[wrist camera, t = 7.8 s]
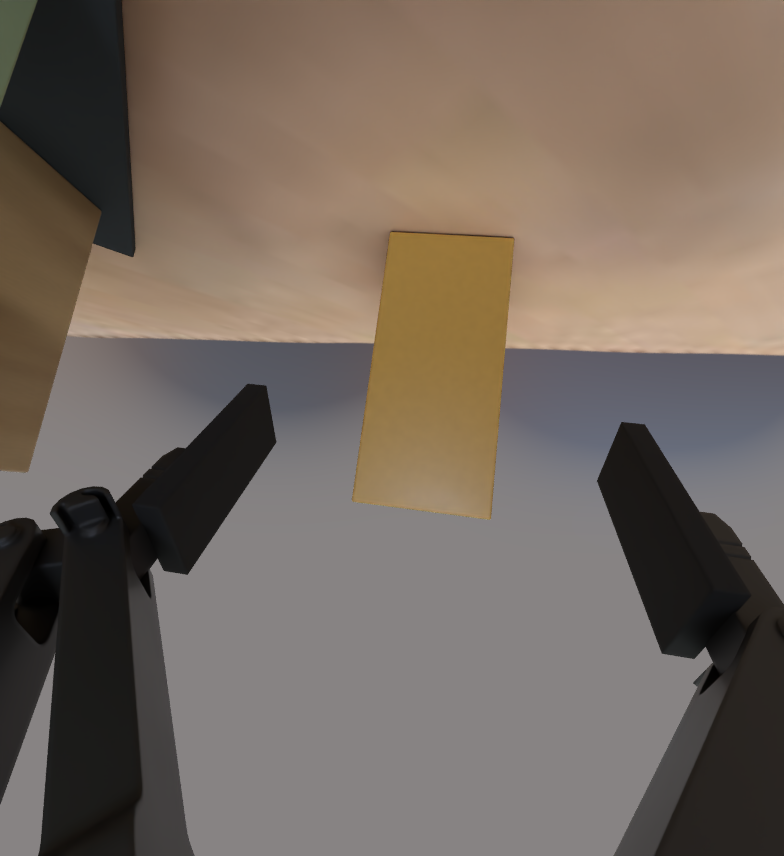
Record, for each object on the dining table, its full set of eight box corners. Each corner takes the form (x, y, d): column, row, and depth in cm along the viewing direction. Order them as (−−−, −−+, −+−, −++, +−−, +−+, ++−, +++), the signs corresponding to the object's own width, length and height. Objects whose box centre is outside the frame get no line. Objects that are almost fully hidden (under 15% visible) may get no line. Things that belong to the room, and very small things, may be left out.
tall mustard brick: (399, 294, 22) (371, 501, 20) (390, 231, 17) (351, 501, 15) (494, 301, 21) (475, 515, 19) (514, 237, 16) (491, 519, 14)
